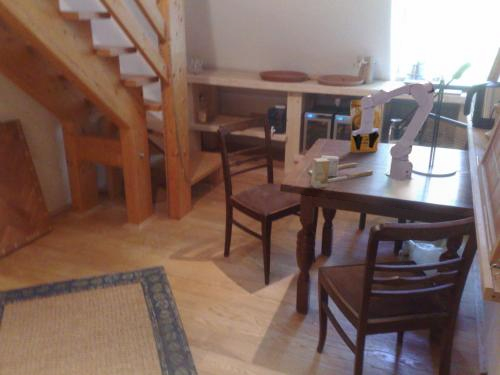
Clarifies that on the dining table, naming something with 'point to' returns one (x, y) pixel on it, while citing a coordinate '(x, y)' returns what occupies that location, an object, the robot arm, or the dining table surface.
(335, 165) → the medicine box
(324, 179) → the skincare box
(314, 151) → the dining table surface
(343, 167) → the pair of tan bars
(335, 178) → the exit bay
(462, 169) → the dining table surface
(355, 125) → the pancake mix bag
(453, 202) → the dining table surface
